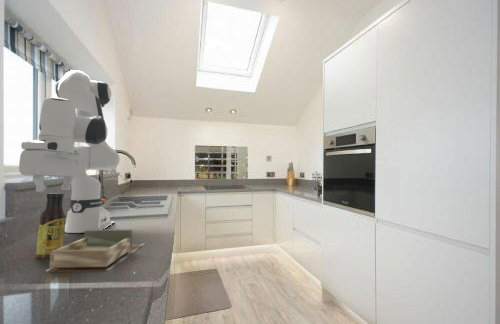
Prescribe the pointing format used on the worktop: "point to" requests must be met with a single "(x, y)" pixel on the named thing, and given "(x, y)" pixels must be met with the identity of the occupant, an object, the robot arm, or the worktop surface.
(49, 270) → the flat board
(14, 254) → the worktop surface
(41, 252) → the sauce bottle
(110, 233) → the shallow wooden tray
